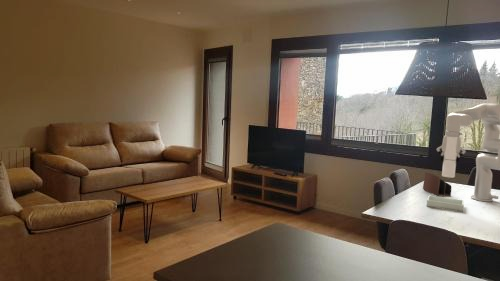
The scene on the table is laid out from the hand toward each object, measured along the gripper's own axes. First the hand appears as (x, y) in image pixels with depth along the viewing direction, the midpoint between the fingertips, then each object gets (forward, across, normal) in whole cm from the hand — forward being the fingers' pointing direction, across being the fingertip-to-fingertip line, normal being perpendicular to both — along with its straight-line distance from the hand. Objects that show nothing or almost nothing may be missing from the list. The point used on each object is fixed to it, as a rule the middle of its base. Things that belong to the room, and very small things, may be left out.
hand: (449, 162), depth 234 cm
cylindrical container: (+9, 0, 0) cm, 9 cm away
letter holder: (+28, +6, -37) cm, 47 cm away
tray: (+28, 0, 0) cm, 28 cm away
